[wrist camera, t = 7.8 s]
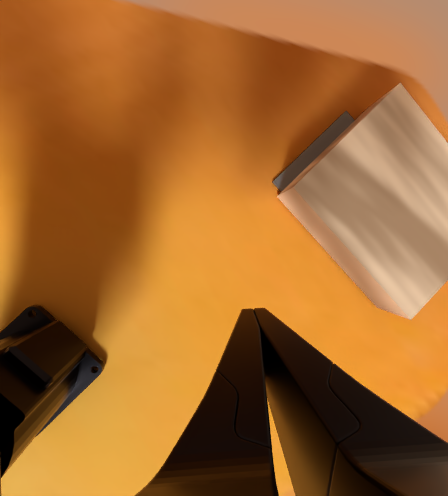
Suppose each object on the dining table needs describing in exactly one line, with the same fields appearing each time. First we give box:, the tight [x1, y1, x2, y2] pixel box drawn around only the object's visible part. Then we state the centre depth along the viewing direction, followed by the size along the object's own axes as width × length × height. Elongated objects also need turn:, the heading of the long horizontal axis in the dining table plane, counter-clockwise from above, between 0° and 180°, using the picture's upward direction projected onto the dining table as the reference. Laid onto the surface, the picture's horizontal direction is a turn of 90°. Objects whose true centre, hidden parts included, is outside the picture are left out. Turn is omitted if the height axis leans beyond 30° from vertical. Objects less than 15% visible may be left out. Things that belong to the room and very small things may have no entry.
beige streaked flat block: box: [277, 83, 448, 320], centre depth 17 cm, size 3×12×10 cm
